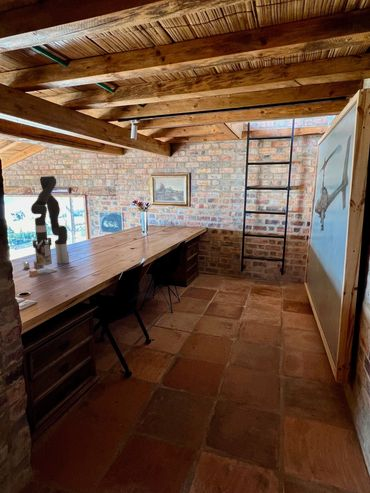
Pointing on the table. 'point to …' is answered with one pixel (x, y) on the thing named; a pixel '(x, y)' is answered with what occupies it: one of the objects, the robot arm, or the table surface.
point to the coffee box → (44, 255)
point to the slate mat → (46, 271)
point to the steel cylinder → (26, 265)
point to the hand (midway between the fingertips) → (43, 252)
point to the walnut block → (37, 265)
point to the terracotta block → (33, 272)
